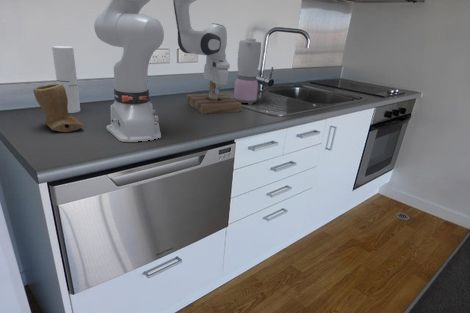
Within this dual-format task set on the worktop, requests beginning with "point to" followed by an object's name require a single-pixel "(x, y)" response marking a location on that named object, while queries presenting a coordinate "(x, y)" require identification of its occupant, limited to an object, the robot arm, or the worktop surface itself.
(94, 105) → the worktop surface
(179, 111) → the worktop surface
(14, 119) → the worktop surface
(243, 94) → the blender
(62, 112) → the tan boot vase
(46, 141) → the worktop surface
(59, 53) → the cylindrical container
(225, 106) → the socket block
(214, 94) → the sprinkles bottle
